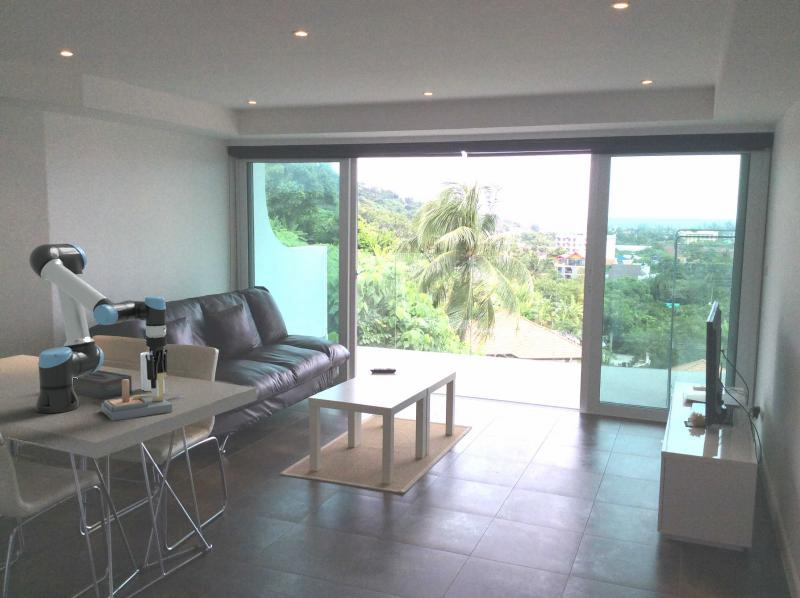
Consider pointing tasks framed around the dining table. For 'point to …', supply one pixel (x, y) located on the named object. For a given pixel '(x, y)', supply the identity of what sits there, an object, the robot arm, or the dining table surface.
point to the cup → (144, 373)
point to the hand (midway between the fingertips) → (157, 394)
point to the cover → (125, 396)
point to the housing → (135, 409)
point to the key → (160, 388)
